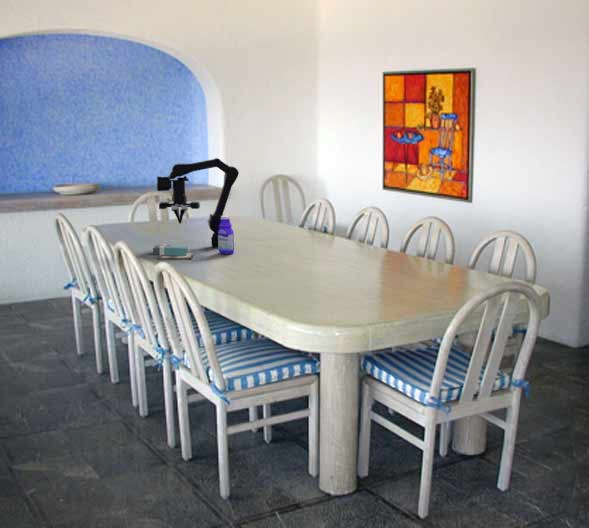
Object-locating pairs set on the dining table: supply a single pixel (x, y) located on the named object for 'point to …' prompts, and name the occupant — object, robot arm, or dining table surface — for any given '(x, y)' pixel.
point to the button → (161, 244)
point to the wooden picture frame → (189, 256)
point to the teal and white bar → (173, 250)
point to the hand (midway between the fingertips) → (180, 223)
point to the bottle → (225, 236)
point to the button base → (157, 249)
